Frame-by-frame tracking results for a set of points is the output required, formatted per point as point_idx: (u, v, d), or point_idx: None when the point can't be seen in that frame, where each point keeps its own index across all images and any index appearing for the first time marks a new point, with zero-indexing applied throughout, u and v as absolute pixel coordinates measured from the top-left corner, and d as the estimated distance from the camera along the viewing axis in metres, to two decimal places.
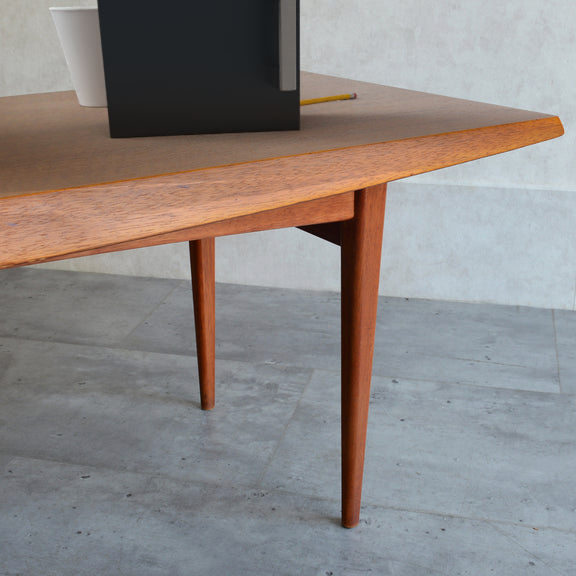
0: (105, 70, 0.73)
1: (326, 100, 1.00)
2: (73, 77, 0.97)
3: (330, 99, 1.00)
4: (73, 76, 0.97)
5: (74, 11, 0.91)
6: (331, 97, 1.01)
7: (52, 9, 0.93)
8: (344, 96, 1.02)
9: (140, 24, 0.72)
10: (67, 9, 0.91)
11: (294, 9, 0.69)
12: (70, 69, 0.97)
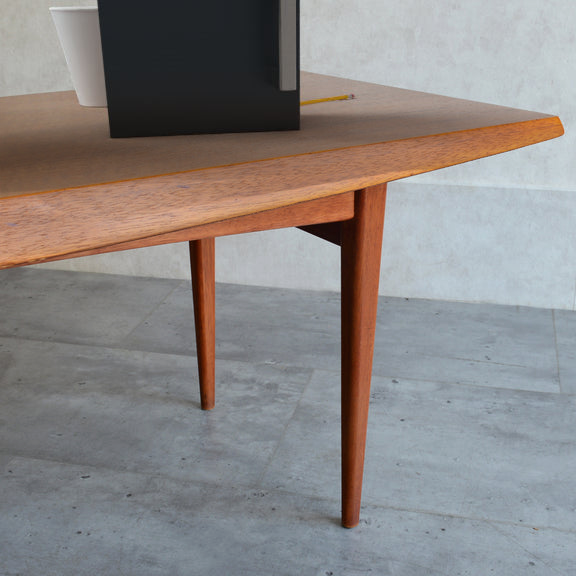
0: (105, 70, 0.73)
1: (325, 101, 1.00)
2: (73, 77, 0.97)
3: (329, 100, 1.01)
4: (73, 76, 0.97)
5: (74, 11, 0.91)
6: (330, 98, 1.01)
7: (52, 9, 0.93)
8: (342, 97, 1.03)
9: (140, 24, 0.72)
10: (67, 9, 0.91)
11: (294, 9, 0.69)
12: (70, 69, 0.97)
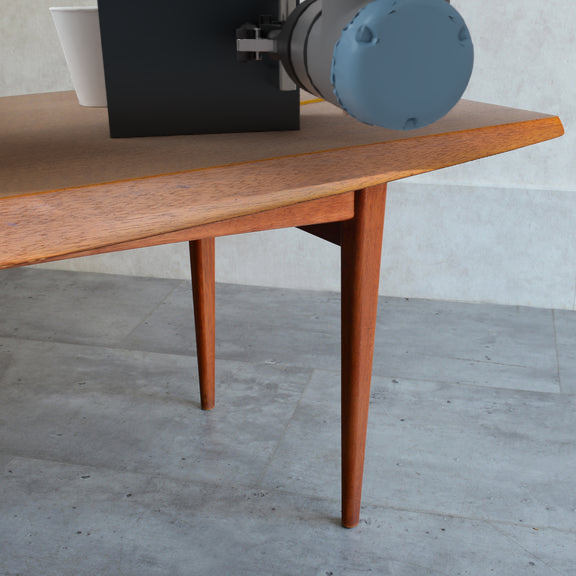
0: (105, 70, 0.73)
1: None
2: (73, 77, 0.97)
3: None
4: (73, 76, 0.97)
5: (74, 11, 0.91)
6: None
7: (52, 9, 0.93)
8: None
9: (140, 24, 0.72)
10: (67, 9, 0.91)
11: None
12: (70, 69, 0.97)
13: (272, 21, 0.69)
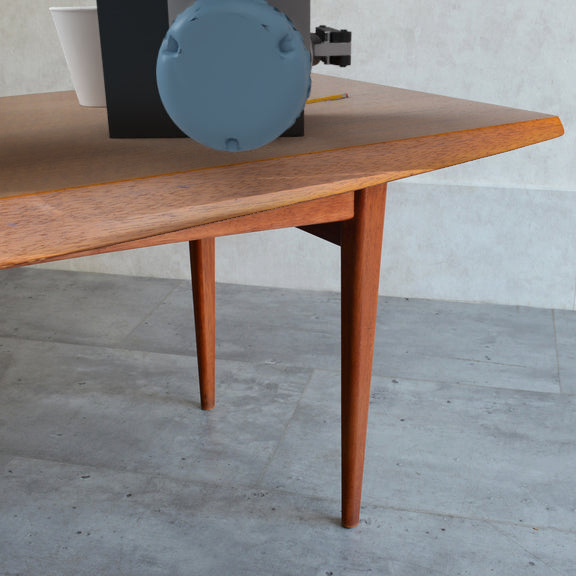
0: (104, 70, 0.73)
1: None
2: (73, 77, 0.97)
3: (325, 100, 1.01)
4: (73, 76, 0.97)
5: (74, 11, 0.91)
6: (325, 98, 1.01)
7: (52, 9, 0.93)
8: (337, 96, 1.03)
9: (138, 24, 0.71)
10: (67, 9, 0.91)
11: None
12: (70, 69, 0.97)
13: None
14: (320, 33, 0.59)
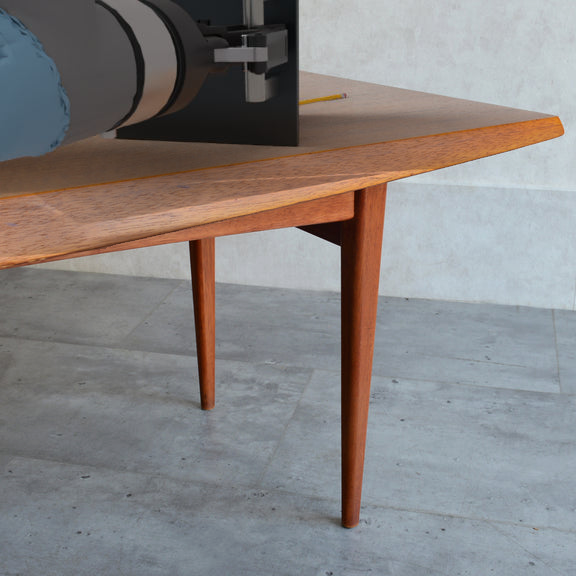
0: None
1: None
2: None
3: (324, 100, 1.01)
4: None
5: None
6: (324, 98, 1.02)
7: None
8: (336, 96, 1.03)
9: None
10: None
11: (258, 12, 0.61)
12: None
13: None
14: None
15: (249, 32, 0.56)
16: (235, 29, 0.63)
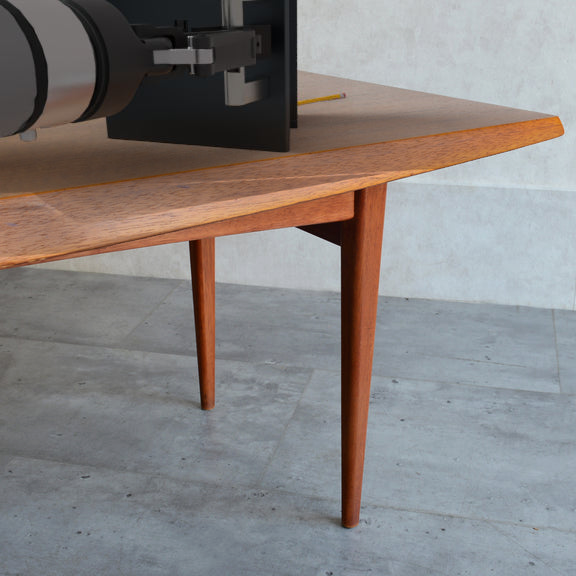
0: None
1: None
2: None
3: (323, 100, 1.01)
4: None
5: None
6: (324, 98, 1.02)
7: None
8: (335, 96, 1.03)
9: None
10: None
11: (236, 12, 0.59)
12: None
13: (205, 26, 0.60)
14: None
15: (212, 33, 0.54)
16: (218, 30, 0.61)
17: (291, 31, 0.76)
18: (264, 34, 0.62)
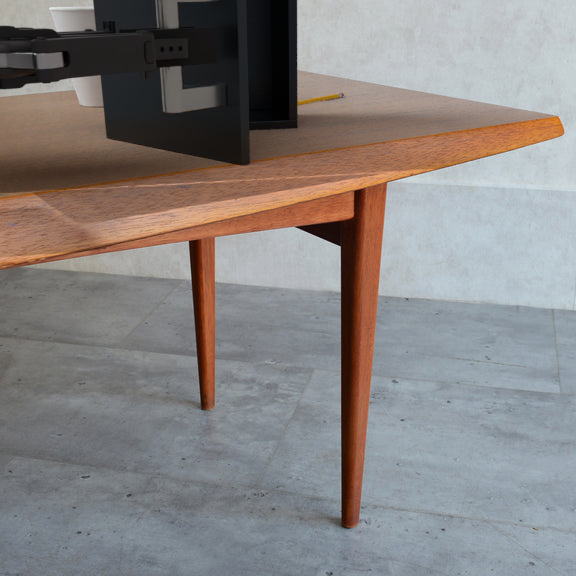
0: None
1: None
2: None
3: (322, 100, 1.01)
4: None
5: (74, 11, 0.91)
6: (323, 98, 1.02)
7: (52, 9, 0.93)
8: (334, 96, 1.04)
9: (119, 25, 0.69)
10: (67, 9, 0.91)
11: (167, 14, 0.56)
12: None
13: (137, 28, 0.57)
14: None
15: (104, 36, 0.51)
16: None
17: (291, 31, 0.76)
18: (204, 37, 0.57)
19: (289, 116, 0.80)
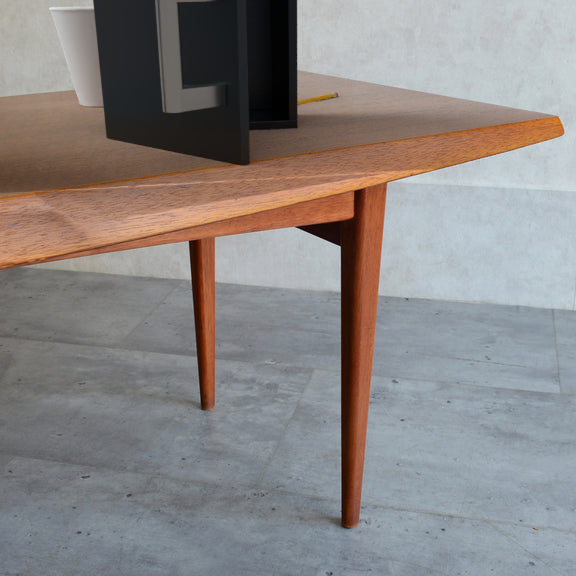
0: (100, 70, 0.73)
1: (315, 100, 1.01)
2: (73, 77, 0.97)
3: (318, 99, 1.02)
4: (73, 76, 0.97)
5: (74, 11, 0.91)
6: (319, 97, 1.02)
7: (52, 9, 0.93)
8: (329, 96, 1.04)
9: (119, 25, 0.69)
10: (67, 9, 0.91)
11: (167, 14, 0.56)
12: (70, 69, 0.97)
13: None
14: None
15: None
16: None
17: (291, 31, 0.76)
18: None
19: (289, 116, 0.80)
